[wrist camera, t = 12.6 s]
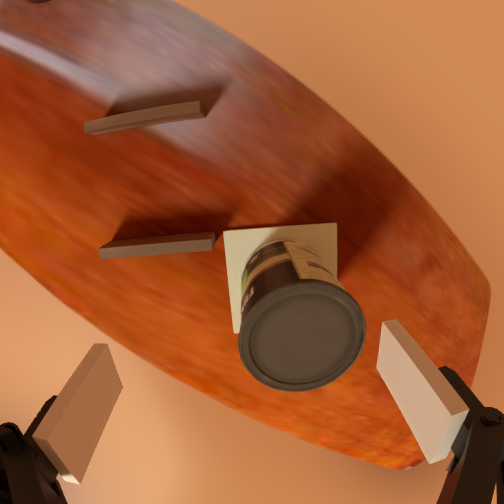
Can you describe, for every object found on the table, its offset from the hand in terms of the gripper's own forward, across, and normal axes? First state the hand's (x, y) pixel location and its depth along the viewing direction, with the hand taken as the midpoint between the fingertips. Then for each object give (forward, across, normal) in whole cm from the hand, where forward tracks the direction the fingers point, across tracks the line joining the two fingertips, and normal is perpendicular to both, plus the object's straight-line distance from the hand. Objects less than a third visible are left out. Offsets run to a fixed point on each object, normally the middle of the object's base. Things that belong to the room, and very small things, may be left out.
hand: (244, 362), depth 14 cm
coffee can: (+23, +4, -6) cm, 24 cm away
